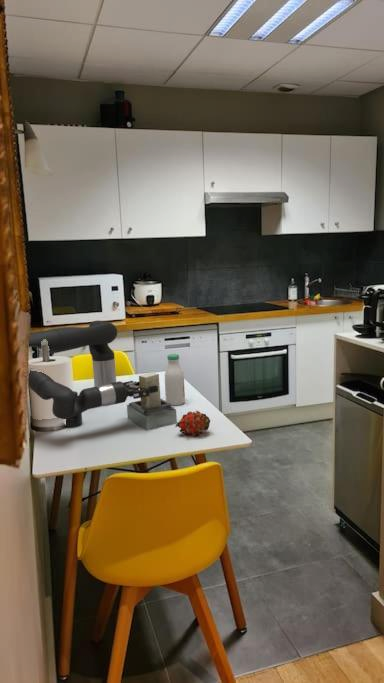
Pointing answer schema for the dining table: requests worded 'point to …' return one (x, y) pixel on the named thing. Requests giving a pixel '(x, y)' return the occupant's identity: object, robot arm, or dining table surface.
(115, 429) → the dining table surface
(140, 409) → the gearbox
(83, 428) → the dining table surface
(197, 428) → the dragon fruit
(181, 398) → the milk bottle
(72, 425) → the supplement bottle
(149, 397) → the skincare box
